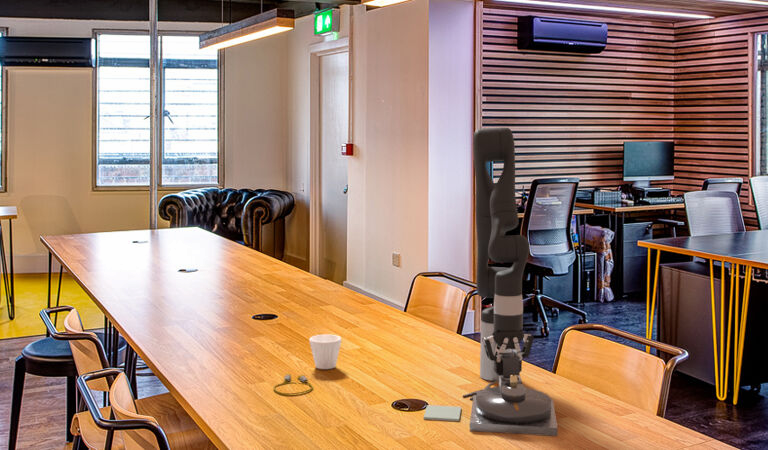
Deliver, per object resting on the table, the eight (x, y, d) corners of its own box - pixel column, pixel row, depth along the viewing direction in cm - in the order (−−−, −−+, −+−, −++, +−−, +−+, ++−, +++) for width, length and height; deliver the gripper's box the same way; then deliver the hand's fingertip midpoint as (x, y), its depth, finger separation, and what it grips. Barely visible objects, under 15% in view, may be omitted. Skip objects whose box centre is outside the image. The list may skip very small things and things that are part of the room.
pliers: (527, 385, 225) (491, 403, 210) (527, 388, 225) (491, 406, 210) (497, 378, 231) (461, 396, 216) (497, 381, 231) (461, 399, 216)
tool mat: (427, 407, 208) (427, 405, 208) (461, 409, 207) (461, 406, 207) (423, 419, 199) (423, 416, 199) (458, 421, 198) (458, 419, 198)
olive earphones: (325, 382, 230) (325, 376, 230) (302, 399, 216) (301, 392, 215) (288, 378, 234) (288, 371, 234) (262, 394, 220) (262, 387, 220)
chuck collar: (473, 395, 211) (473, 363, 210) (544, 396, 210) (545, 364, 209) (478, 422, 191) (478, 386, 190) (556, 423, 190) (557, 387, 189)
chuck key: (497, 386, 209) (497, 353, 208) (513, 384, 210) (513, 352, 209) (503, 391, 204) (503, 358, 203) (519, 390, 205) (519, 356, 204)
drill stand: (473, 402, 212) (473, 395, 212) (552, 406, 209) (552, 399, 209) (469, 430, 192) (469, 422, 191) (557, 436, 188) (557, 428, 188)
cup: (340, 372, 239) (340, 342, 238) (307, 371, 239) (307, 342, 238) (342, 362, 249) (342, 334, 248) (311, 362, 249) (311, 334, 248)
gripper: (528, 306, 210) (527, 368, 212) (477, 309, 207) (477, 372, 209) (539, 312, 203) (538, 376, 205) (487, 315, 200) (486, 380, 202)
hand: (507, 373), depth 207 cm, fingers closed on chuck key, 4 cm apart
